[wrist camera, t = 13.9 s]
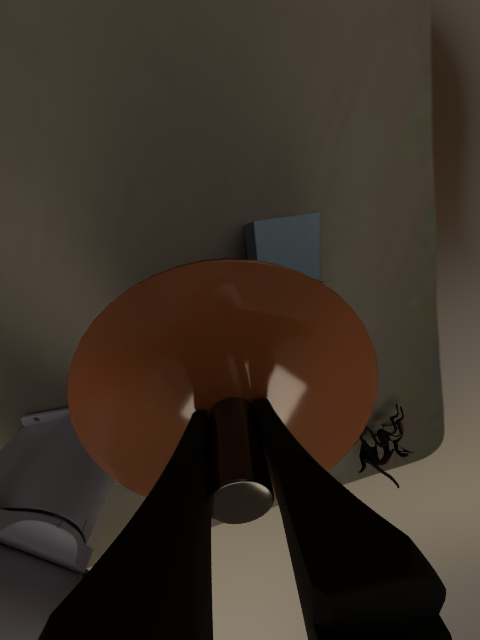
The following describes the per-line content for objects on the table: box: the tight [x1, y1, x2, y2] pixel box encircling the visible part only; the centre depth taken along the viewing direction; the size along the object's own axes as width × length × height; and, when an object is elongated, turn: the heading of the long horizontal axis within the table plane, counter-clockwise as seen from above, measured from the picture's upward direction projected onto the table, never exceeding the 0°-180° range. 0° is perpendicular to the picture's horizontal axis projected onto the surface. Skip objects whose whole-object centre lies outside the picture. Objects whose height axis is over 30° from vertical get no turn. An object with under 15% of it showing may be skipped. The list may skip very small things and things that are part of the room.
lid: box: [67, 258, 378, 524], centre depth 10 cm, size 15×15×5 cm
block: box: [244, 212, 320, 280], centre depth 16 cm, size 4×4×5 cm
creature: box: [359, 404, 414, 488], centre depth 24 cm, size 8×5×8 cm
